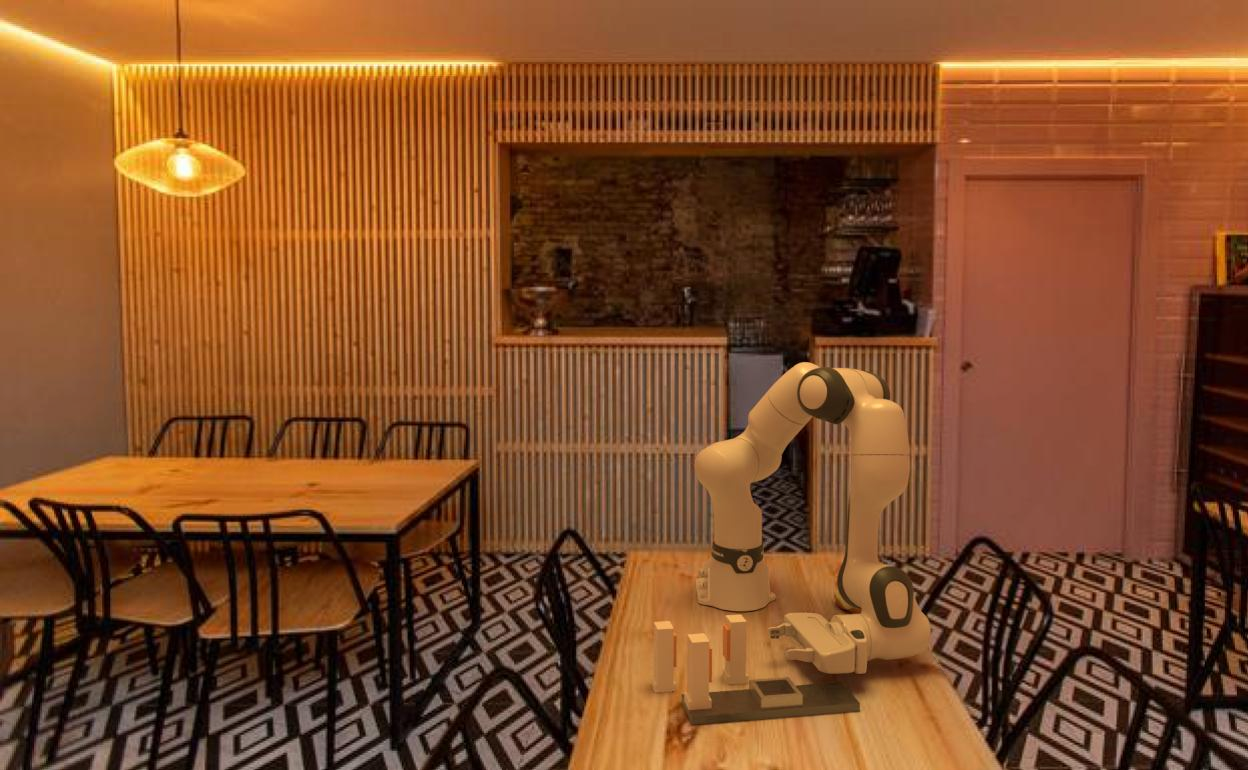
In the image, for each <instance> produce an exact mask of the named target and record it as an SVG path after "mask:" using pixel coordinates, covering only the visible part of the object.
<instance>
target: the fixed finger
mask: <svg viewBox="0 0 1248 770" xmlns="http://www.w3.org/2000/svg"><path fill="white" fill-rule="evenodd" d="M686 638H687V639H686V640H687V641H686V643H687V645H686V647H687V648H686V649H687V651H686V653H687V655H686V658H687V659H686V663H687V664H686V665H687V667H686V691H684V692H683V694H684V701H685V703H686V705H687V707H688V710H698V709H710V708H712V700H711V698H710V696H709V692H710V683H713V648H712V647H711V645H710V640H709V639H708V637H707V635H706V634H705V632H704V633H701V632H700V633H690V634H689V633H688V634H687V637H686Z"/></svg>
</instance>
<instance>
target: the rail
mask: <svg viewBox="0 0 1248 770" xmlns="http://www.w3.org/2000/svg"><path fill="white" fill-rule="evenodd" d="M680 696H681V697H680V698H681V699H680V703H681V705H682V708H683V710H684V712H685V713H686V716H687V718H688V720H689V722H690V725H691V726H699V725H710V724H712V725H713V724H722V723H735V722H747V721H757V720H758V721H759V720H769V719H770V720H772V719H780V718H781V719H783V718H784V719H785V718H795V717H804V716H805V717H806V716H817V715H818V716H820V715H830V714H841V713H843V714H844V713H854V712H856V713H857V712H860V711H861V702H860V701H859V700H858V699H857V698H856V696H855V695H854V694H853V693H852V692H851V691H850V690H849V689H848V688H847V687H846V685H844V683H843V682H842V681H837V682H822V683H813V684H812V683H811V684H797V685H795V683H794V682H793V681H792V679H791V678H790V677H789V676H786V677H785V676H783V677H771V678H770V677H769V678H759V679H748V688H747V689H746V688H745V689H733V690H720V691H719V690H718V691H709V696H710V698H711V700H712V708H710V709H698V710H688V707H687V705H686V703H685V701H684V693H682V694H681V695H680Z"/></svg>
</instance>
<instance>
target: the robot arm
mask: <svg viewBox="0 0 1248 770" xmlns="http://www.w3.org/2000/svg"><path fill="white" fill-rule="evenodd" d="M812 418H815V419H817V420H821V421H823V422H826V423H827V422H828V423H829V424H832V425H839V424H844V426H846V427H847V429H848V431H849V434H850V439H851V440H850V442H851V443H850V447H851V449H850V452H851V453H850V454H851V456H850V457H851V458H850V460H851V465H850V466H851V468H850V469H851V475H850V489H849V490H850V491H849V497H848V503H847V504H848V506H847V519H846V536H845V537H846V539H845V551H844V557H843V561H842V563H841V566H840V568H839V571H838V574H837V578H836V580H837V581H836V582H837V583H836V584H837V588H838V590H839V593H840V595H841V597H842V598H843V600H844V601H845V602H846V603H847V604H849V605H850V606H852V607H854V608H858V609H862V611H861V613H860V614H853V613H851V614H847V613H846V614H835V615H833V616H832V617H831V619H830V620H829V619H828V618H825V617H824V616H823V615H821V614H819V613H816V612H788V613H787V614H784V616H783V622H782V623H781V624H779V625H778V626H771V627H768V629H767V636H768V637H769V638H770V639H772V640H773V639H780V637H783V636H785V637H790V639H791V640H792V641H793V642H794V644H796V646H797V647H798V648H795V646H790V647H785V649H784V656H785V657H786V659H787V660H789V661H793V660H797V661H800V662H805V663H812V665H814V667H816V669H817V670H818V671H820V673H824V674H832V675H833V674H834V675H835V674H850V673H853V672H854V673H855V674H860V675H861V674H866V673H867V668H868V662H869V661H872V660H875V659H879V660H880V659H881V660H887V661H888V660H897V659H905V658H911V657H914V656H918V655H920V654H922V653H923V652H925V651H926V650H927V649H928V646H929V644H930V641H931V635H932V634H931V633H932V631H931V630H932V629H931V625H930V624H931V623H930V620H929V618H928V617H927V616H926V615H925V613H924V612H922V610H921V608H920V606H919V604H918V602H917V599H916V597H915V593H914V586H913V585H914V584H913V582H912V580H911V578H910V576H909V575H908V574H907V572H905V571H904V570H903V569H901V568H900V567H897V566H894V565H890V564H886V563H881V562H880V561H879V558H878V557H879V556H878V547H879V546H878V545H879V544H878V543H879V527H880V525H879V524H880V518H881V515H882V514H883V511H884V510H885V508H886V507H887V506H888V505H889V504H890V503H892V502H893V501H894V500H896V499H897V498H898V497H900V496H901V495H902V494H903V493H904V491H906V489H907V487H908V484H909V480H910V478H909V477H910V471H911V470H910V469H911V460H910V459H911V458H910V457H911V456H910V442H909V434H908V433H909V432H908V427H907V423H906V418H905V414H904V410H903V409H902V407H901V406H900V405H899V404H898V403H897V402H894V401H892V400H891V390H890V387H889V384H888V383H887V382H886V380H885V379H883V377H881V376H879V375H878V374H875V373H874V372H872V371H868V370H867V371H866V370H860V369H856V368H852V367H851V368H850V367H844V368H842V367H829V366H823V367H822V366H821V367H820V366H818V365H817V364H814V363H812V362H807V361H806V362H805V361H803V362H799V363H797V364H795V365H793V367H791V368H790V369H788V370H787V371H786V372H785V373H784V374H783V375H782V376H780V377H779V378H778V380H777V381H775V382H774V383H773V384H772V385H771V386H770V388H769V389H768V391H766V392H765V394H764V395H763V396H762V397H761V398H760V400H759V401H758V402H757V403H756V404H755V406H753V408H752V409H751V410H750V411H749V412H748V418H747V420H748V424H747V426H746V428H745V429H744V431H743V432H742V433H741V434H739V435H737V436H736V437H733V438H730V439H725V440H722V441H716V442H714V443H712V444H710V445H707V447H705V448H704V449H702V450H701V451H699V453H698V454H697V455H696V457H695V460H694V465H693V466H694V474H695V475H696V478H697V480H698V481H699V483H700V484H701V485H702V486H703V487H704V488H705V489H706V490H707V492H708V494H709V497H710V500H711V503H712V508H713V521H714V523H713V525H714V527H713V528H714V529H713V531H714V533H713V535H714V538H713V539H714V540H713V541H712V545H711V551H710V553H711V556H710V557H709V558H708V559H707V560H706V562H704V567H700V568H698V577H699V578H696V579H695V591H696V598H697V603H698V604H701V605H702V606H703V605H704V606H705V605H706V606H711V607H713V608H717V609H720V610H725V611H732V612H750V611H756V610H760V609H762V608H765V607H766V606H767V605H768V604H770V602H774V601H775V600H776V599H777V597H776V594H775V593H774V592H773V591H771V585H770V583H771V581H770V567H769V565H768V564H767V563H766V562H765V561H764V552H765V548H764V543H763V542H762V541H763V540H762V539H763V537H762V535H763V512H762V509H761V508H760V507H759V505H758V504H756V503H754V500H753V497H752V492H751V484H752V483H756V482H759V481H760V482H761V481H763V480H765V479H766V478H768V477H770V476H771V475H772V474H774V473H775V472H777V470H778V469H779V468H780V466H781V463H782V459H783V458H782V455H783V453H784V451H785V450H786V448H787V446H788V445H789V444H790V443H791V441H792V440H793V439H794V438H795V437H796V436H797V435H798V434H799V432H800V431H801V430H802V429H803V428H804V427H805V426H806V425H807V424H808V423H809V421H810V420H811V419H812Z"/></svg>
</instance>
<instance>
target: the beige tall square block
mask: <svg viewBox="0 0 1248 770" xmlns="http://www.w3.org/2000/svg"><path fill="white" fill-rule="evenodd" d="M747 622H748V621H747V619H745V617H743V615H742V614H727V615H725V623H723V624H722V656H723V657H724V668H722V675H721V676H722V679H723V680H724V682H725V683H726V685H728V686H729V685H731V686H732V685H741V684H742V685H743V684H749V675H748V672H747Z"/></svg>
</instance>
